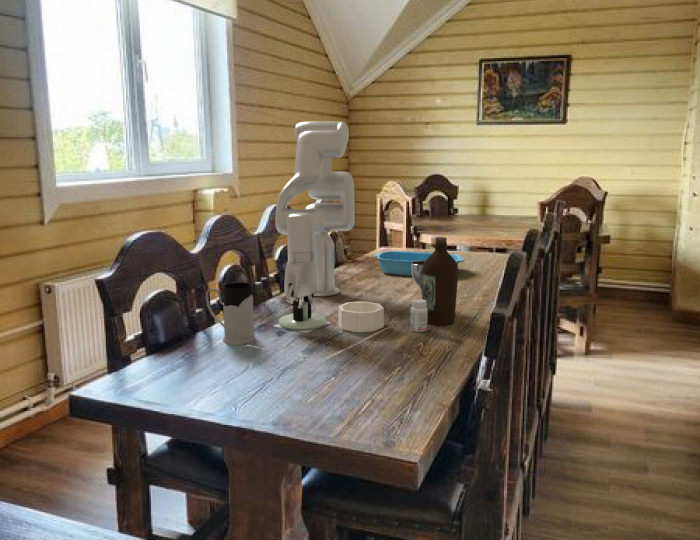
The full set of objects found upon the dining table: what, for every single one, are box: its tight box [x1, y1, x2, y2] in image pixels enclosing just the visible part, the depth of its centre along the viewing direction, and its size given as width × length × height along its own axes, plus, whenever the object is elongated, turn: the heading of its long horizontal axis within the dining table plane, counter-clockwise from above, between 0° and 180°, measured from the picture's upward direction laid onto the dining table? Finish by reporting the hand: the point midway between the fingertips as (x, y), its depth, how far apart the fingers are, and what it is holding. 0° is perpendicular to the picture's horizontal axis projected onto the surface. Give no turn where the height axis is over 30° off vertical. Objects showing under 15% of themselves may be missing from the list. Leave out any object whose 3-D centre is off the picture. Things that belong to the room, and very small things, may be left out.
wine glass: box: [411, 260, 425, 300], centre depth 195 cm, size 8×8×15 cm
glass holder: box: [205, 282, 257, 346], centre depth 165 cm, size 9×14×15 cm, turn 70°
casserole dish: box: [373, 250, 466, 277], centre depth 252 cm, size 37×22×7 cm, turn 76°
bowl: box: [337, 300, 385, 333], centre depth 176 cm, size 12×12×6 cm
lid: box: [278, 300, 327, 330], centre depth 178 cm, size 14×14×6 cm
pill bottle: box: [409, 298, 428, 333], centre depth 174 cm, size 5×5×8 cm
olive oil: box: [422, 236, 460, 326], centre depth 181 cm, size 11×11×25 cm
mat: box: [273, 321, 332, 334], centre depth 178 cm, size 12×12×1 cm
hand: (302, 318), depth 178 cm, fingers closed on lid, 3 cm apart
